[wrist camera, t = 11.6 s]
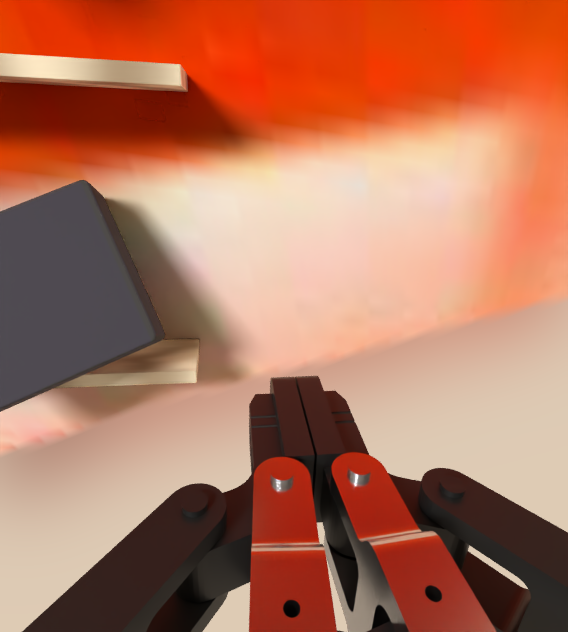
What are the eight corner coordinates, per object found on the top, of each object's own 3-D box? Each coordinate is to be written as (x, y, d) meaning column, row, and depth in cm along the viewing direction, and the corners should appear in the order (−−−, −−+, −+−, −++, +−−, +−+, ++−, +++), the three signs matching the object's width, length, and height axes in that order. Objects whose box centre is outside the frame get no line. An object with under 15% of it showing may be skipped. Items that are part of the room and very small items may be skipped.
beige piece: (187, 74, 27) (180, 64, 23) (199, 349, 35) (196, 382, 31) (-188, 52, 24) (-281, 35, 20) (-81, 357, 32) (-129, 395, 28)
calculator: (105, 195, 30) (-107, 280, 28) (82, 172, 26) (-170, 271, 24) (169, 337, 30) (-40, 430, 29) (157, 339, 26) (-90, 447, 24)
